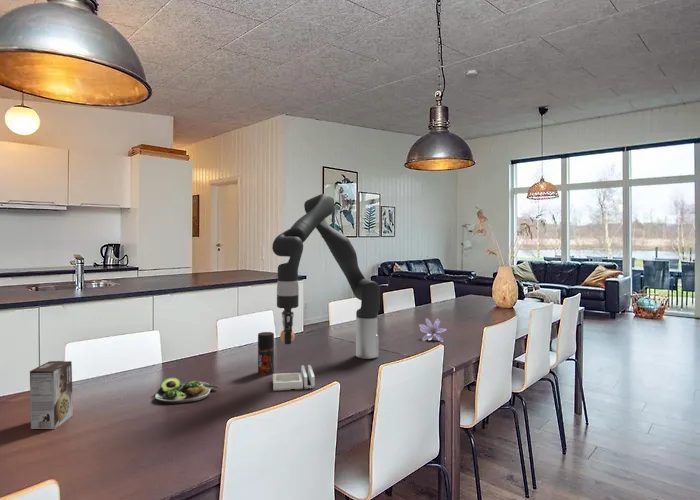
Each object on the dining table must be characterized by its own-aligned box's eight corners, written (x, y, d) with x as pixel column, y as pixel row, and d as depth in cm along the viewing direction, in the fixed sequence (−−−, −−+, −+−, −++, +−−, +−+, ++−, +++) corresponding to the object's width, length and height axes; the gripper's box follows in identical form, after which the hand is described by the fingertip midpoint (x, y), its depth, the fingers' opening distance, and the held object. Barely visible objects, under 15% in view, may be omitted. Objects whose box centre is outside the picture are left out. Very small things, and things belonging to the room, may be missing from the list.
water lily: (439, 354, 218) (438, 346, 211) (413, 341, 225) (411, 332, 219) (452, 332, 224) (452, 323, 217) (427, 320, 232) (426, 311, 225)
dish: (300, 379, 158) (300, 372, 158) (302, 389, 148) (303, 381, 148) (272, 381, 156) (272, 373, 156) (273, 390, 146) (273, 383, 146)
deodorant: (276, 371, 167) (276, 332, 167) (268, 376, 162) (268, 336, 161) (263, 369, 169) (263, 331, 169) (255, 374, 163) (255, 334, 163)
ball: (294, 341, 154) (294, 327, 154) (295, 344, 150) (295, 330, 149) (279, 341, 154) (280, 327, 153) (280, 345, 149) (280, 330, 148)
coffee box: (50, 416, 124) (49, 360, 124) (73, 415, 125) (72, 360, 124) (29, 430, 115) (28, 370, 115) (54, 429, 116) (54, 370, 115)
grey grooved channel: (310, 375, 162) (310, 364, 162) (314, 388, 149) (314, 376, 149) (301, 375, 162) (301, 365, 162) (304, 388, 148) (304, 377, 148)
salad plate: (220, 383, 154) (220, 370, 154) (216, 402, 137) (216, 387, 137) (162, 387, 150) (162, 374, 150) (150, 407, 132) (150, 392, 132)
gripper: (299, 296, 145) (299, 346, 145) (297, 290, 159) (296, 337, 159) (277, 296, 143) (277, 347, 144) (276, 291, 157) (276, 337, 158)
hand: (287, 341), depth 152 cm, fingers closed on ball, 5 cm apart
